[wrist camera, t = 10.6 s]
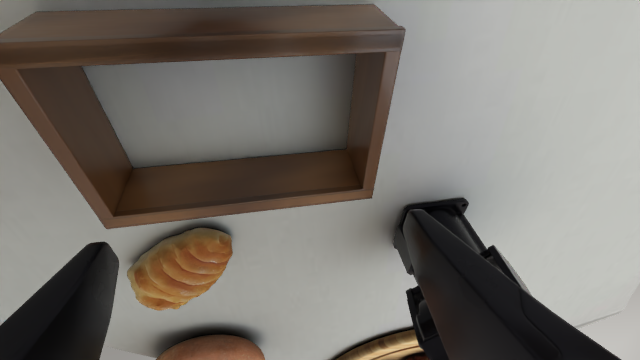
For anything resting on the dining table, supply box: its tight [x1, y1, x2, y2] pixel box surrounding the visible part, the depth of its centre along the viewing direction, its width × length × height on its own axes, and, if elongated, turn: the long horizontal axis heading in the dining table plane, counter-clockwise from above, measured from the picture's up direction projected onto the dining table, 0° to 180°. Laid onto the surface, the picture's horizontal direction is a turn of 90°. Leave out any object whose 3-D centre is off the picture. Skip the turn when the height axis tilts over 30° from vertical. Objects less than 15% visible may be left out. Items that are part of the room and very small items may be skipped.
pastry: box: [127, 227, 233, 311], centre depth 27 cm, size 9×7×4 cm
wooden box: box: [0, 4, 405, 229], centre depth 18 cm, size 17×11×4 cm, turn 88°
